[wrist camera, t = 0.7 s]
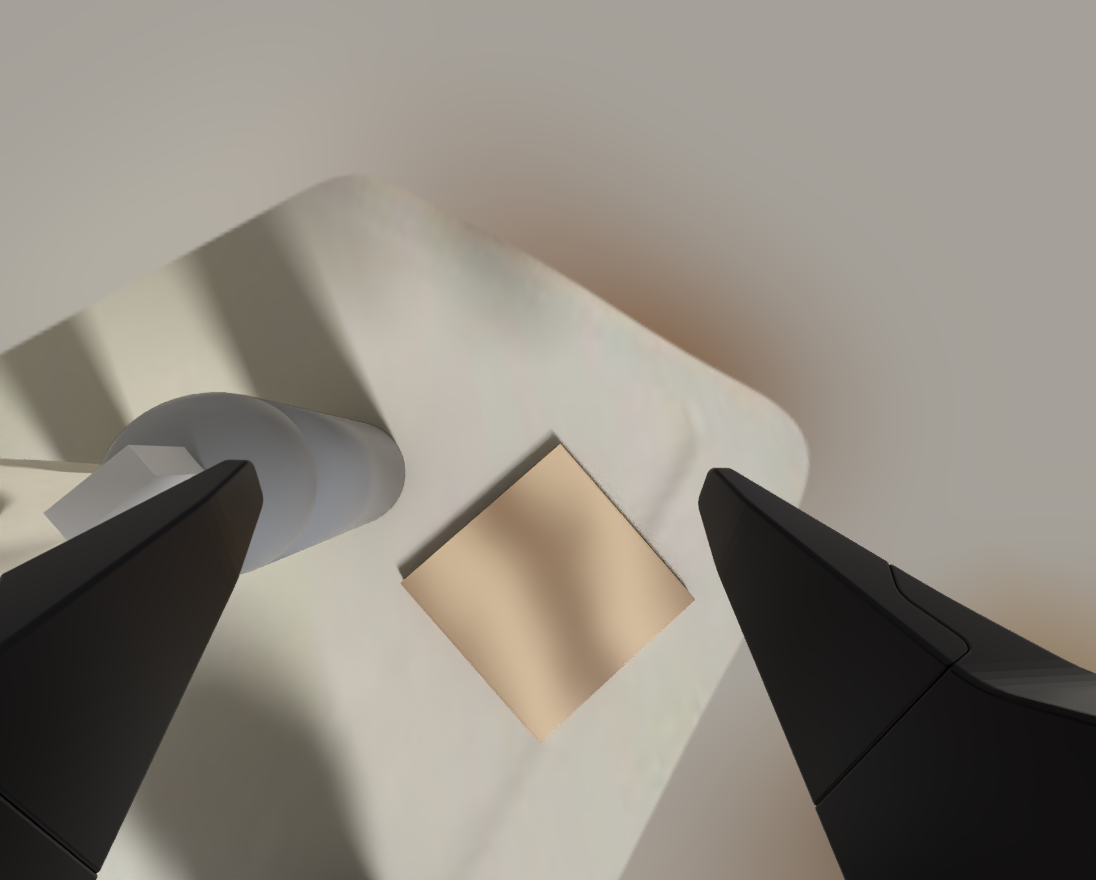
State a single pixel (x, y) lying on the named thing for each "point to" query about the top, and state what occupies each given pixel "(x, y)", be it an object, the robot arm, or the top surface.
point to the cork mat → (548, 592)
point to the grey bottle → (275, 450)
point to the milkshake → (33, 505)
